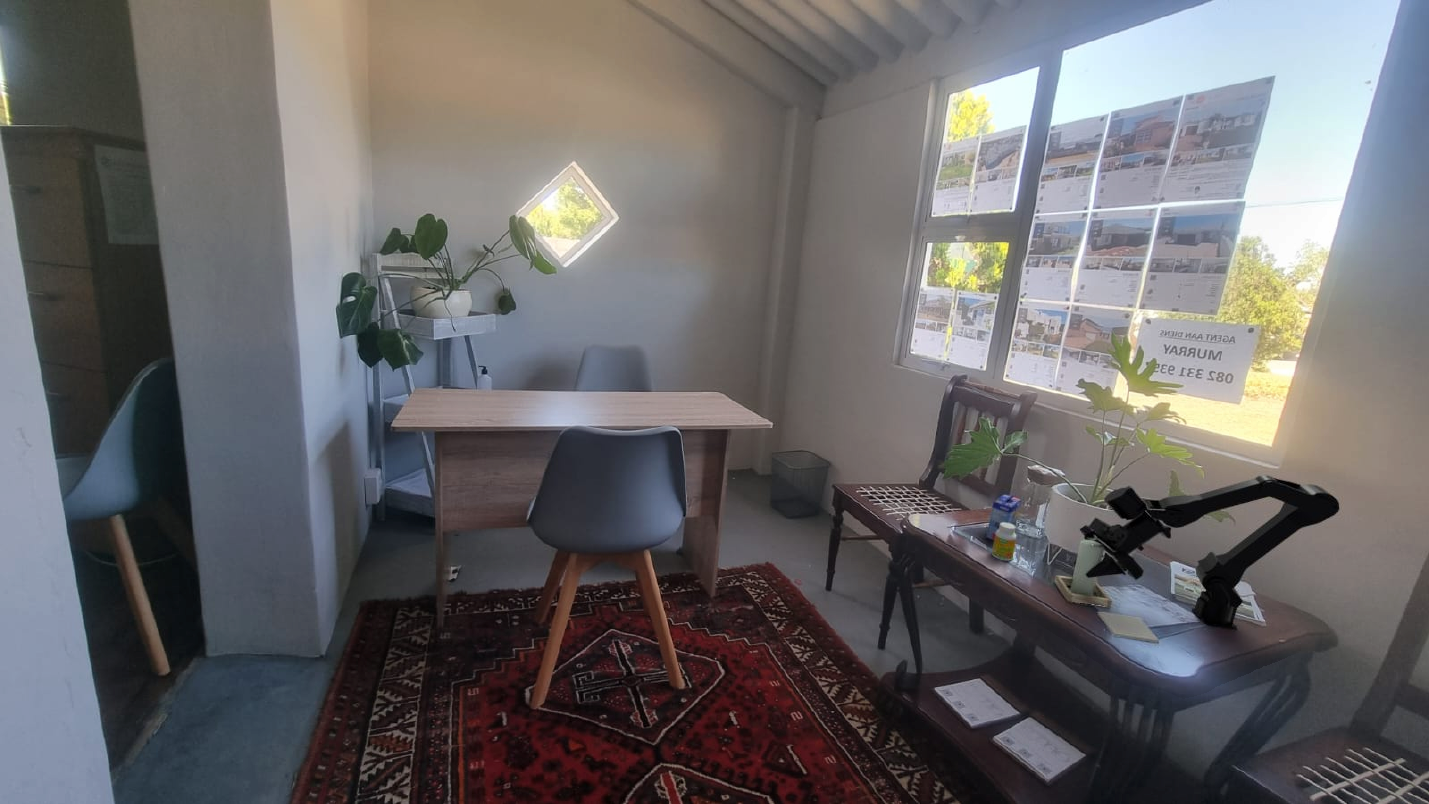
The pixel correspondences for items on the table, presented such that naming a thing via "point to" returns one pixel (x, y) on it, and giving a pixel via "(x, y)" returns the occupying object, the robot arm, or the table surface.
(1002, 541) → the supplement bottle
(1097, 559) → the ceramic canister
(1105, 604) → the birch collar
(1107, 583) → the table surface
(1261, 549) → the robot arm
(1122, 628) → the cream square tile
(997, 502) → the ink cartridge box
